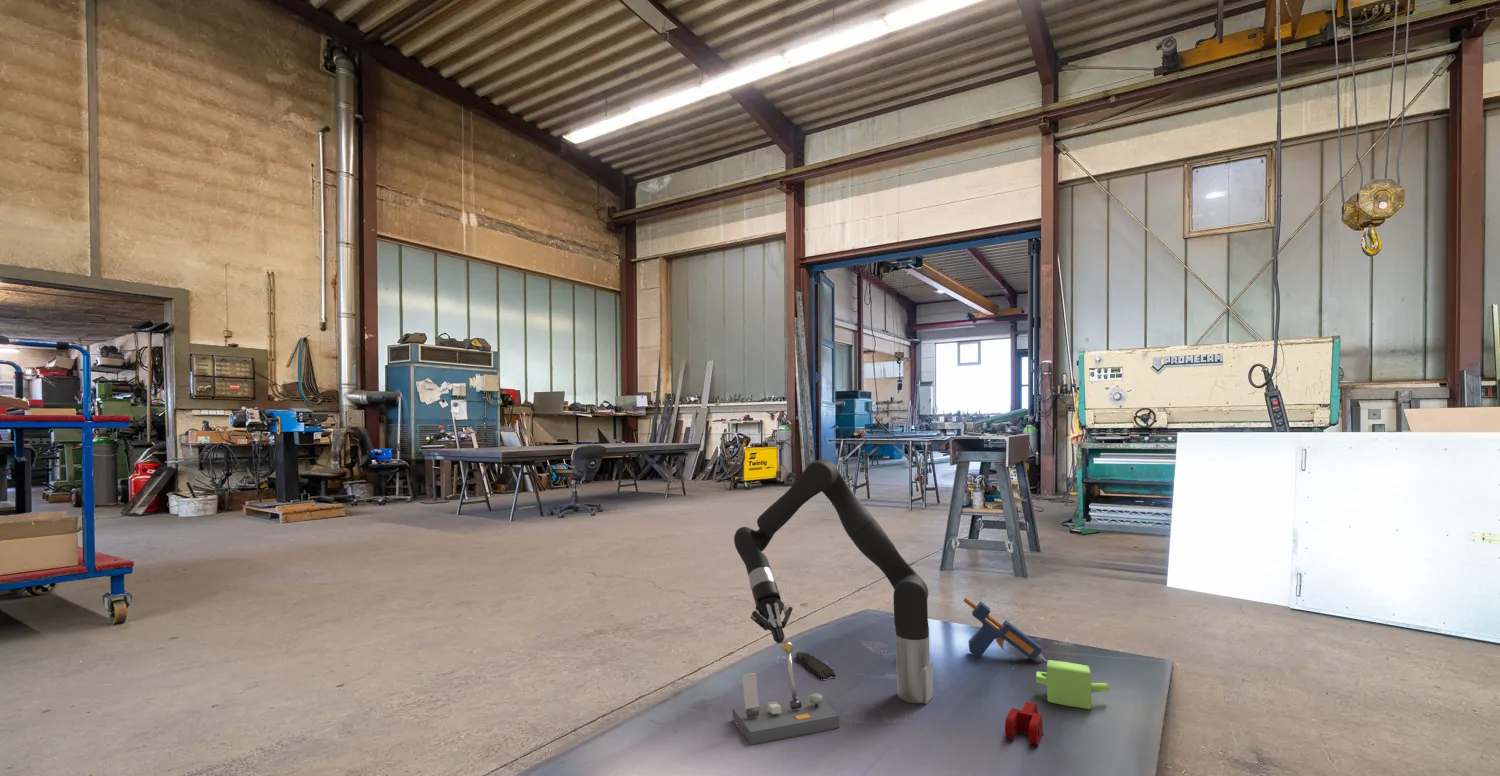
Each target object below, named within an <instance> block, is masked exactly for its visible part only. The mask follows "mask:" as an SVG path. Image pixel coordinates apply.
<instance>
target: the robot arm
mask: <svg viewBox="0 0 1500 776" xmlns="http://www.w3.org/2000/svg"><path fill="white" fill-rule="evenodd" d="M821 492H822V493H823V494H824V496H825V497H826V498H827V499H828V500H829V501H830V502H831V504H832V505H833V507H834V509H835V510H836V514H837V516H838V518H839V521H840V523H841V524H842V527H843V529H844V531H845V533H846V534H847V536H848V537H849V538H850V540H851V541H852V542H853V544H854V545H855V546H856V548H857V549H858V550H859V551H860V553H862V554H863V555H864V556H865V557H866V558H867V559H868V560H870V561H871V562H872V563H873V564H874V565H875V566H876V567H878V568H879V569H880V570H881V571H882V573H883V574H884V575H885V577H886V579H887V580H888V581H889V583H890V585H891V586H892V587H893V589H894V591H893V620H894V627H895V629H894V630H895V654H896V655H895V657H896V662H895V663H896V690H897V691H896V693H897V698H898V699H900V700H901V701H903V702H906V703H909V704H925V705H927V704H928V703H929V702H930V701H931V699H933V697H934V681H933V680H934V679H933V678H934V677H933V673H934V672H933V662H932V661H930V660H931V659H930V658H931V655H930V626H929V616H928V615H929V614H928V612H929V611H928V599H929V589H928V588H929V587H928V585H927V583H926V582H925V581H924V579H923V578H922V577H921V576H920V575H919V573H917V572H916V571H915V570H914V569H913V568H912V567H911V566H910V564H909V563H908V562H907V561H906V560H905V559H904V558H903V556H902V555H901V554H900V552H899V551H898V549H897V548H896V546H895V545H894V544H893V541H892V540H891V539H890V537H889V536H888V535H887V533H886V532H885V530H884V529H883V528H882V526H881V525H880V524H879V522H878V521H877V520H876V519H875V518H874V516H873V515H872V514H871V513H870V511H869V510H868V509H867V508H866V506H865V505H864V504H863V503H862V501H861V500H860V499H859V498H858V497H857V495H855V493H854V492H853V491H852V489H851V488H850V487H849V485H848V483H847V482H846V480H845V478H844V477H843V476H842V473H841V472H840V470H839V469H838V467H837V466H836V464H834V462H833V461H831V460H829V459H825V458H822V459H821V458H820V459H818V460H815V461H814V460H813V461H812V462H810V463H809V464H808V465H807V466H806V468H805V469H804V470H803V471H802V473H801V474H800V476H799V477H798V478H797V479H796V481H795V482H794V483H793V484H792V485H791V486H790V488H788V490H786V492H785V493H784V494H782V496H780V497H779V498H778V499H777V500H776V501H775V502H774V503H772V504H771V505H770V506H769V507H768V508H767V509H766V510H764V511H763V512H762V513H761V514H760V515H759V516H758V518H757V520H756V524H757V527H758V529H757V530H755V529H753V528H750V527H748V526H741V527H739V528H738V529H737V530H736V531H735V532H734V533H735V534H734V536H733V541H734V543H733V544H734V546H735V549H736V551H737V553H738V555H739V557H740V558H741V561H742V562H743V563H744V565H745V568H746V572H747V576H748V582H749V586H750V587H749V588H750V590H751V592H752V597H753V600H754V604H755V610H753V611H752V613H751V614H750V619H751V620H752V621H754V622H755V623H756V624H757V625H758V626H759V627H761V628H762V629H763V630H764V631H770V632H771V635H772V639H773V641H774V642H776V644H783V643H784V640H785V638H786V637H785V633H784V628H785V627H786V625H787V624H788V621H789V619H790V617H791V614H792V612H793V607H792V606H786V605H785V603H784V601H783V600H782V599H781V595H780V591H779V589H778V585H777V583H776V579H775V576H774V573H773V572H772V569H771V566H770V563H769V560H768V557H767V556H766V555H765V553H763V551H764V550H766V548H767V546H768V545H769V543H770V542H771V540H772V538H773V537H774V536H775V534H776V532H778V531H779V530H780V529H781V528H782V527H784V525H785V524H787V523H788V521H789V520H790V519H791V518H792V517H793V516H794V515H795V514H796V513H797V512H798V511H799V509H800V508H801V507H802V506H804V504H806V503H807V502H808V501H809V500H811V499H812V498H813V497H815V496H817V495H818V494H820V493H821ZM782 613H783V615H784V617H783V619H782V616H781V615H782Z"/></svg>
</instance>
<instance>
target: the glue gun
mask: <svg viewBox="0 0 1500 776" xmlns="http://www.w3.org/2000/svg"><path fill="white" fill-rule="evenodd" d="M963 602H964V603H966V605H968V606H969V607H971V608H972V609H973V610H972V612H971V613H972V617H974V618H975V619H977V620H978V621H979V622H980V623H981V624H982V626H981V627H980V628H979V629H978V631H977V632H975V633H974V635H973V636H972V637H971V638H970V639H969V640H968V642H967V643H968V648H969V652H970V653H971V654H972V655H973V656H974V657H976V658H978V659H980V658H981V657H982V656H983V655H984V654H985V652H986V651H987V649H988V648H989V647H990V645H991V644H992V643H993V642H994V640H996V643H997V645H998V646H999V647H1000V648H1001V649H1002V650H1003V651H1004V650H1005V649H1004V642H1005V641H1006V642H1007V643H1008V644H1010V645H1011V646H1013V647H1014V648H1016V649H1017V650H1018V651H1019V652H1020V653H1022V654H1023V655H1024V656H1026V657H1027V658H1029V659H1030V660H1031V661H1035V660H1036V659H1037V658H1040V659H1042V660H1043V661H1045V662H1048V660H1047V659H1046V658H1045V657H1044V656H1043V655H1042V654H1041V652H1042V651H1043V648H1042V647H1041V645H1040V644H1038V642H1037V641H1035V640H1034V639H1032V638H1031V637H1030V636H1028V635H1027V634H1025V633H1024V632H1023V631H1022V630H1020V629H1019V628H1017V627H1016V626H1014V625H1013V624H1012V623H1011V622H1009V621H1008V620H1007V619H1005V620H1004V621H1003V623H1002V624H1001V622H999V621H997V620H996V619H995V618H994V617H992V616H991V615H990V614H991V608H990V607H989V606H988V605H986V604H985V603H984V602H982V601H979V602H978V604H977V605H976V604H975V603H974V602H972V601H971V600H969V599H968V598H966V597H965V598H964V599H963Z"/></svg>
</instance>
